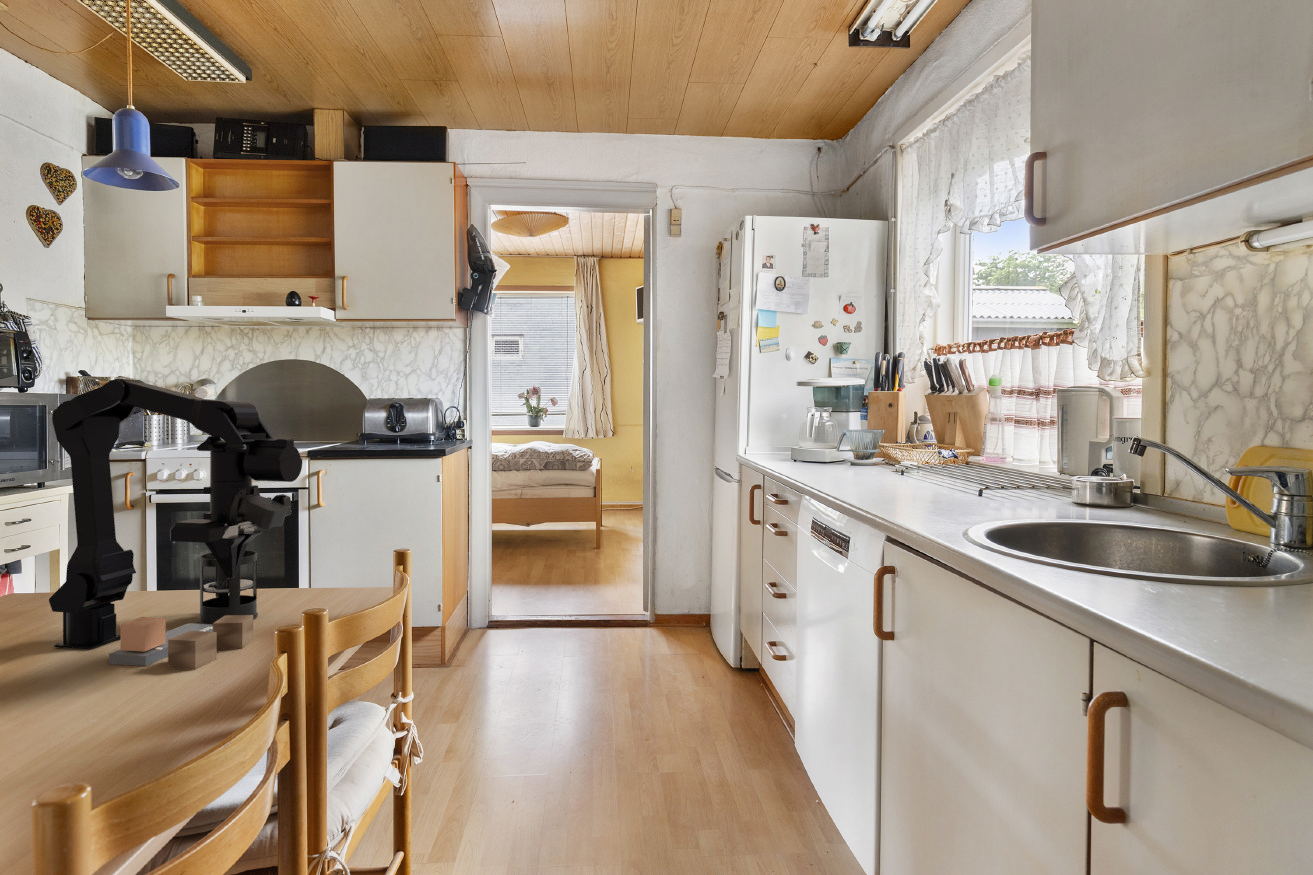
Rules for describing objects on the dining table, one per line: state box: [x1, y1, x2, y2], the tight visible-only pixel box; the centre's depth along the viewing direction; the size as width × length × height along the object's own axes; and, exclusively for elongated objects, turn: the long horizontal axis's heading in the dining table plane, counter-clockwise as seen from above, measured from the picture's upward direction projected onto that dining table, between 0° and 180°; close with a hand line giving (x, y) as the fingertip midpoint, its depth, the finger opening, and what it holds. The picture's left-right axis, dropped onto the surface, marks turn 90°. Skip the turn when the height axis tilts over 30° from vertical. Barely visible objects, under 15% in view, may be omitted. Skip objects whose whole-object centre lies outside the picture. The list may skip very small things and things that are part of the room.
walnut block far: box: [213, 615, 254, 651], centre depth 117 cm, size 4×4×4 cm
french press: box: [198, 525, 259, 625], centre depth 131 cm, size 12×9×23 cm
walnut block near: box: [167, 631, 218, 671], centre depth 108 cm, size 4×4×4 cm
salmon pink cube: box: [119, 616, 167, 652], centre depth 110 cm, size 4×4×4 cm
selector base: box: [108, 622, 213, 667], centre depth 115 cm, size 6×16×2 cm, turn 175°
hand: (230, 577), depth 113 cm, fingers closed
